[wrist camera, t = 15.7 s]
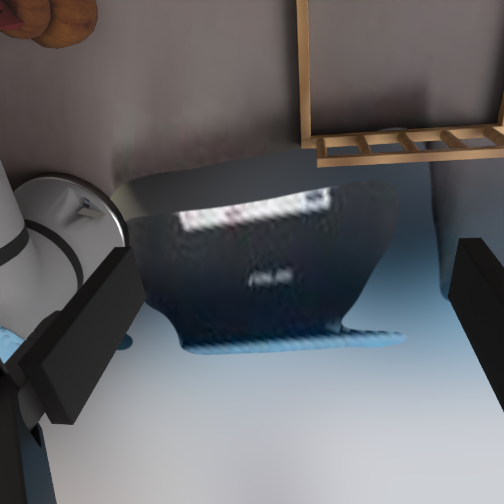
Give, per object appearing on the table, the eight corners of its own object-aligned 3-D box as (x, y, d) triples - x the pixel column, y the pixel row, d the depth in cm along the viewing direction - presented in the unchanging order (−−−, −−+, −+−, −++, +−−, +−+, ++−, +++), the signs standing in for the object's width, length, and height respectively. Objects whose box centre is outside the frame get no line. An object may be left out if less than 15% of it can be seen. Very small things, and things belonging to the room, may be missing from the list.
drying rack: (301, 145, 42) (300, 169, 36) (294, -68, 33) (290, -88, 27) (505, 132, 39) (543, 156, 32) (559, -107, 30) (627, -141, 23)
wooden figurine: (117, 35, 39) (23, 45, 26) (67, 50, 40) (-46, 68, 27) (86, -48, 36) (-39, -82, 23) (33, -28, 37) (-113, -50, 24)
